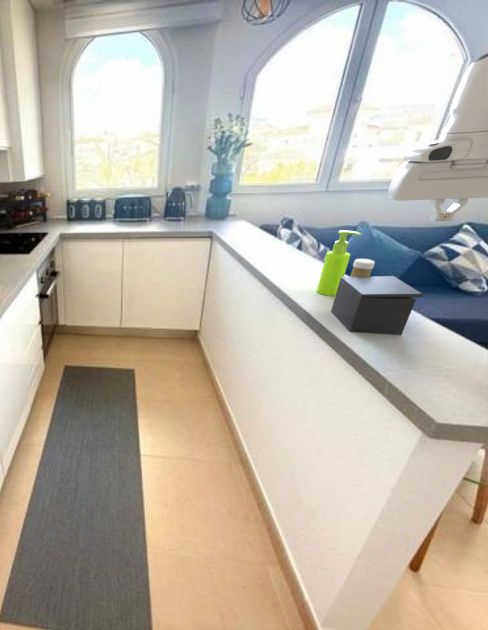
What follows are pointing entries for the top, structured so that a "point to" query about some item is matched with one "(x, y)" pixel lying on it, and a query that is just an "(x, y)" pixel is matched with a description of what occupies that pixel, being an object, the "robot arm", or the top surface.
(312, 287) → the top surface
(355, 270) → the sprinkles bottle
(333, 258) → the soap dispenser
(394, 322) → the grey box
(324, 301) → the top surface
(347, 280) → the box lid
